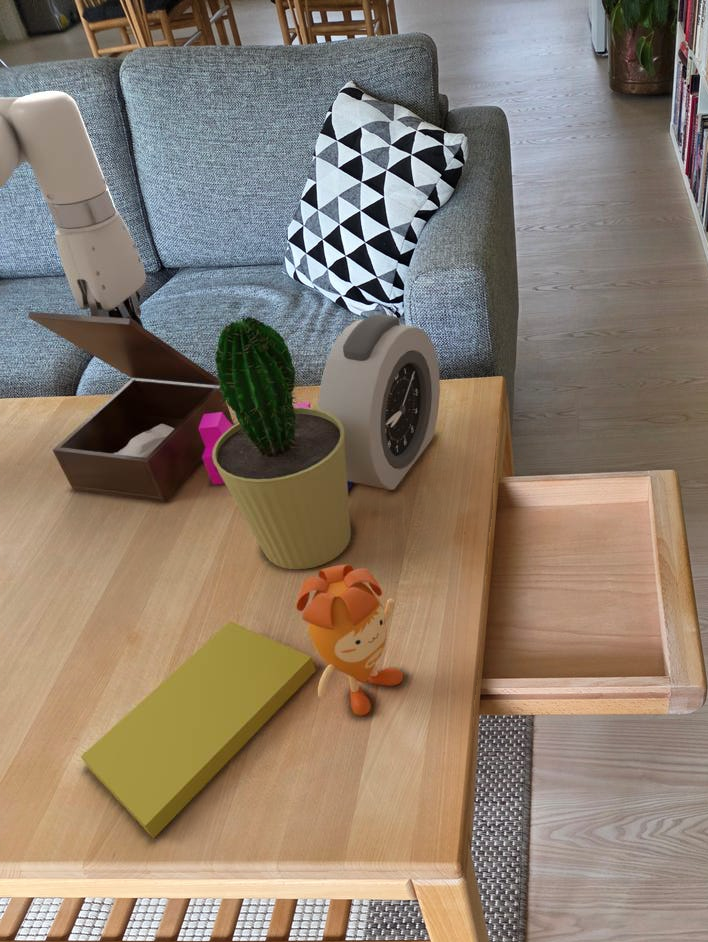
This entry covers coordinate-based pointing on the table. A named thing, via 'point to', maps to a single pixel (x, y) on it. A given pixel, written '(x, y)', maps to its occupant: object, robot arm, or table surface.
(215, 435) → the toy block
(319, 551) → the potted cactus
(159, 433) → the toy car
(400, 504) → the table surface
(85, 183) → the robot arm
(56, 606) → the table surface
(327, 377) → the alarm clock
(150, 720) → the flat olive board
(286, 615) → the table surface
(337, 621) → the toy figure
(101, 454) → the chest
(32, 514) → the table surface
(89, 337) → the lid
